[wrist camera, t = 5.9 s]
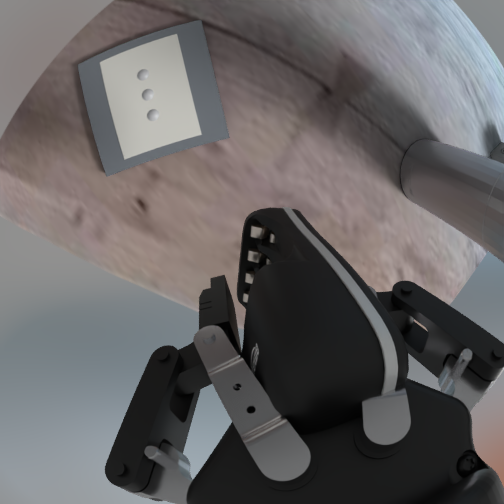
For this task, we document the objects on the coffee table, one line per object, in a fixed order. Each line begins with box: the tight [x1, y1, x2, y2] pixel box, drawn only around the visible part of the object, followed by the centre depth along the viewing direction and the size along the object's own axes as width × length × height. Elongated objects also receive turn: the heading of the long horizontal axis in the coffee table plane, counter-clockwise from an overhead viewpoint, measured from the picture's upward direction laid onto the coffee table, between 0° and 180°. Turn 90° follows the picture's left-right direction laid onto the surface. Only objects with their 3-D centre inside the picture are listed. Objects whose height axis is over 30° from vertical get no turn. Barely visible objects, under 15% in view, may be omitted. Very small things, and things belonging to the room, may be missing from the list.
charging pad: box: [78, 20, 230, 176], centre depth 22 cm, size 13×13×1 cm
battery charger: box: [237, 207, 409, 435], centre depth 11 cm, size 7×4×11 cm, turn 172°
